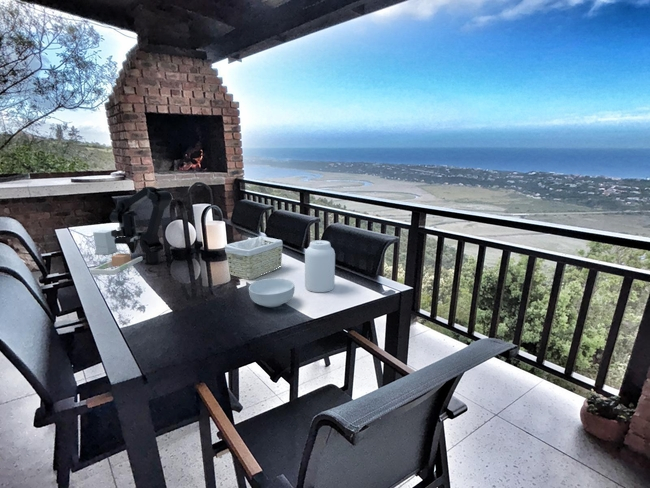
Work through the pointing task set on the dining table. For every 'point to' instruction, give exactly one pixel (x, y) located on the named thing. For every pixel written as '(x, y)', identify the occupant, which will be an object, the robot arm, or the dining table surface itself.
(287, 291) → the cereal bowl
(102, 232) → the supplement box
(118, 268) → the trap lane
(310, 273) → the white jar
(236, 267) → the storage basket
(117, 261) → the block
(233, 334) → the dining table surface
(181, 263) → the dining table surface
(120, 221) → the robot arm
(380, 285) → the dining table surface
